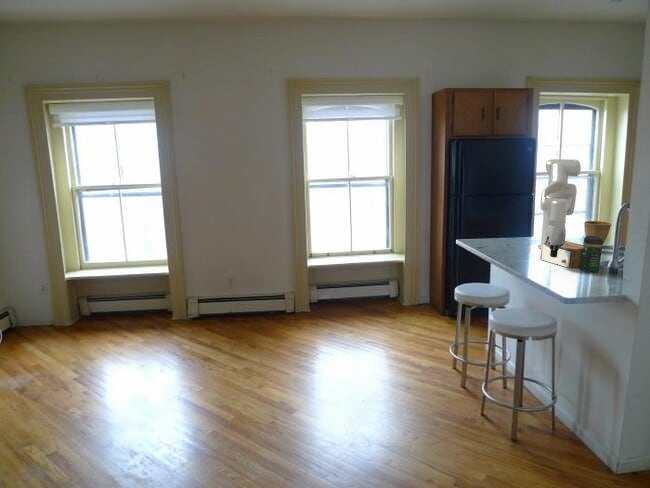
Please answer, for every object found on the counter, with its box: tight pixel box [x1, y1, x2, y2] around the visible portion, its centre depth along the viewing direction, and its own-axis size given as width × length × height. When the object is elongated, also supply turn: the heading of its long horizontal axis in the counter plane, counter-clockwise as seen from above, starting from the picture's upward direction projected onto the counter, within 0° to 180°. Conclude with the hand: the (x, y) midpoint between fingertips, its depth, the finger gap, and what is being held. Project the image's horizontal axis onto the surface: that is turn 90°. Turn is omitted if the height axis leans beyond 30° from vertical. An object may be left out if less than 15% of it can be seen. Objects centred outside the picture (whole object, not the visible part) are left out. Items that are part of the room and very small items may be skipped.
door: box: [539, 244, 571, 268], centre depth 243 cm, size 2×19×9 cm, turn 19°
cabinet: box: [544, 240, 583, 270], centre depth 245 cm, size 14×20×11 cm
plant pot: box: [583, 220, 612, 245], centre depth 284 cm, size 15×15×16 cm
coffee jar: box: [579, 235, 604, 274], centre depth 229 cm, size 10×8×19 cm
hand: (553, 256), depth 236 cm, fingers closed
